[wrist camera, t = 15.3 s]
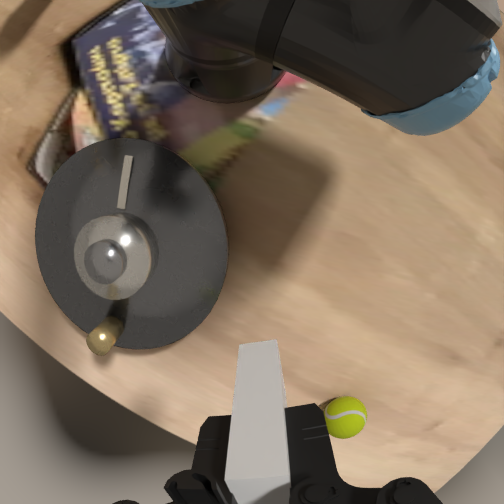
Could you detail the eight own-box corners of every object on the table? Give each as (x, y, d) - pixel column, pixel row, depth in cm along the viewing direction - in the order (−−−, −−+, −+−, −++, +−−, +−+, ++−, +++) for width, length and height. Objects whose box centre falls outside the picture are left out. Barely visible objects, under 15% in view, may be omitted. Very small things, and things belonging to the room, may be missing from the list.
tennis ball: (350, 380, 42) (362, 408, 36) (366, 405, 44) (378, 432, 37) (311, 401, 43) (318, 431, 37) (330, 424, 45) (338, 453, 38)
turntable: (54, 133, 33) (22, 129, 26) (248, 156, 34) (246, 150, 27) (45, 314, 39) (18, 334, 32) (210, 360, 40) (203, 392, 33)
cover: (94, 205, 33) (69, 211, 28) (164, 220, 34) (148, 228, 28) (88, 277, 35) (65, 293, 30) (154, 295, 36) (138, 315, 30)
